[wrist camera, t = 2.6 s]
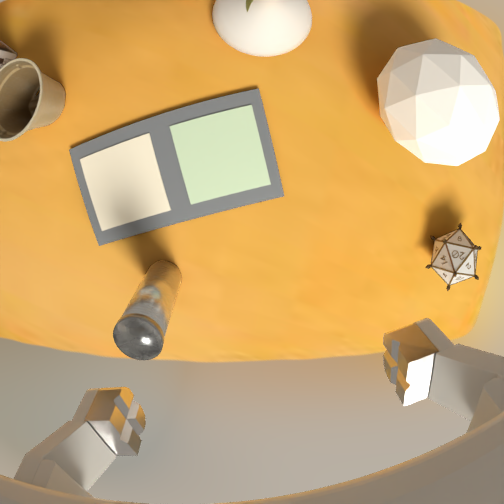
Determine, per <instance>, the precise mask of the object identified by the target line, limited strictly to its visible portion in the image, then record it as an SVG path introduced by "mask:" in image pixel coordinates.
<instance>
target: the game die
mask: <svg viewBox="0 0 504 504" xmlns="http://www.w3.org/2000/svg"><path fill="white" fill-rule="evenodd" d="M458 227H459V229H457V230H455V231H452V232H450V233H448V234H446V235H443V236H441V237H439V238H436V239H435V237H434V236H431V239H432V240H434V247H433V253H432V259H431V265H427V266H426V267H425V268H428V269H429V268H430V267H432V268H433V269H434V270H435V272H436V273H437V274H438V275H439V276H440V277H441V278H442V279H443V280H444V281H445V282H446V283H447V284H448V286H447V288H446V289H447V291H448V290H449V289H450V285H452V284H455V283H458V282H461V281H463V280H466V279H469V278H471V277H475V278H476V279H477V280H479V278H478V276H477V275H475V273H476V263H477V251H478V250H480V249H481V248H482V247H480V246H479V247H478V246H476V245H474V244H473V243H472V241H471V240H470V239H469V238H468V237H467V236H466V234H465V233H464V232H463V231H462V230H461V227H462V225H461V223H460V224H459V226H458Z"/></svg>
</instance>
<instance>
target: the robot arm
mask: <svg viewBox="0 0 504 504" xmlns="http://www.w3.org/2000/svg"><path fill="white" fill-rule="evenodd" d="M383 344H384V346H385V347H386V349H387V350H386V352H385V353H384V355H383V359H384V360H383V361H384V367H385V372H386V374H387V377H388V379H389V381H390V382H391V383H393V384H395V385H396V393H397V395H398V397H399V399H400V400H401V402H402V404H403V406H406V405H408V404H411V403H414V402H416V401H420V400H422V399H424V398H427V397H428V398H429V399H430V400H432V401H434V402H436V403H438V404H440V405H441V406H443V407H445V408H447V409H449V410H451V411H452V412H454V413H456V414H458V415H460V416H462V417H464V418H465V419H467V420H469V421H471V423H470V425H469V428H468V430H467V432H466V434H464V435H462V436H460V437H458V438H456V439H454V440H452V441H450V442H448V443H446V444H444V445H442V446H440V447H438V448H436V449H434V450H431V451H429V452H427V453H425V454H422V455H420V456H418V457H415V458H413V459H410V460H408V461H405V462H403V463H400V464H398V465H395V466H392V467H390V468H387V469H384V470H381V471H378V472H376V473H372V474H369V475H367V476H363V477H360V478H356V479H353V480H350V481H346V482H343V483H339V484H335V485H331V486H327V487H323V488H319V489H315V490H310V491H305V492H300V493H295V494H290V495H284V496H278V497H272V498H265V499H258V500H250V501H241V502H229V503H215V504H504V357H502V356H499V355H495V354H492V353H488V352H485V351H481V350H478V349H474V348H471V347H468V346H464V345H461V344H456V345H454V344H453V343H452V342H451V341H450V340H449V339H448V338H447V337H446V336H445V334H444V333H443V332H442V331H441V330H440V329H439V328H438V327H437V326H436V325H435V324H434V323H433V322H432V321H431V320H430V319H429V318H425V319H423V320H420V321H417V322H415V323H413V324H410V325H408V326H405V327H402V328H399V329H396V330H393V331H390V332H387V333H385V334H384V337H383ZM133 396H134V395H133V393H132V392H131V391H130V389H129V388H127V387H115V388H101V389H100V388H98V389H89V390H87V391H86V393H85V395H84V397H83V399H82V401H81V403H80V405H79V407H78V409H77V411H76V413H75V415H74V417H73V419H72V421H68V422H66V423H65V424H64V425H63V426H62V427H60V428H59V429H58V430H56V431H55V432H54V433H52V434H51V435H50V436H49V437H47V438H46V439H45V440H43V441H42V442H41V443H40V444H38V445H37V446H36V447H34V448H33V449H32V450H31V451H29V452H28V453H27V454H25V456H24V458H23V460H22V463H21V464H20V466H19V469H18V471H17V473H16V475H15V477H14V479H12V478H9V477H6V476H3V475H0V504H147V503H133V502H121V501H113V500H105V499H98V498H94V497H93V496H92V495H90V494H89V493H88V492H87V491H88V489H89V488H90V487H91V486H92V485H93V484H94V483H95V481H96V480H97V479H98V478H99V477H100V476H101V475H102V473H103V472H104V471H105V470H106V469H107V467H108V466H109V465H110V464H111V463H112V462H113V461H114V459H115V458H116V456H134V455H135V456H136V455H138V453H139V448H140V445H141V441H142V440H141V439H140V437H139V435H140V434H141V433H142V432H143V431H144V429H145V425H146V421H145V414H144V411H143V409H142V408H141V406H140V404H138V403H137V402H135V401H133Z"/></svg>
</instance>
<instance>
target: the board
mask: <svg viewBox="0 0 504 504" xmlns="http://www.w3.org/2000/svg"><path fill="white" fill-rule="evenodd" d="M69 151H70V155H71V159H72V162H73V166H74V170H75V173H76V177H77V180H78V184H79V187H80V190H81V194H82V197H83V200H84V203H85V206H86V210H87V213H88V216H89V219H90V222H91V224H92V227H93V230H94V233H95V236H96V239H97V241H98V244H99V246H100V245H104V244H107V243H110V242H113V241H117V240H120V239H124V238H127V237H130V236H134V235H137V234H141V233H144V232H148V231H151V230H155V229H158V228H162V227H165V226H169V225H173V224H176V223H180V222H184V221H187V220H191V219H195V218H199V217H202V216H206V215H210V214H214V213H218V212H222V211H226V210H229V209H233V208H237V207H241V206H245V205H249V204H254V203H258V202H262V201H266V200H270V199H274V198H279V197H283V196H284V193H283V188H282V184H281V179H280V175H279V170H278V166H277V162H276V157H275V153H274V149H273V144H272V140H271V136H270V132H269V128H268V124H267V119H266V115H265V111H264V107H263V103H262V99H261V95H260V92H259V89H254V90H249V91H245V92H240V93H236V94H231V95H227V96H223V97H219V98H215V99H211V100H207V101H204V102H200V103H196V104H193V105H189V106H186V107H182V108H179V109H176V110H173V111H169V112H166V113H163V114H160V115H157V116H154V117H151V118H148V119H145V120H142V121H139V122H136V123H134V124H131V125H128V126H125V127H123V128H120V129H118V130H115V131H112V132H110V133H107V134H105V135H102V136H100V137H97V138H95V139H93V140H90V141H88V142H86V143H83V144H81V145H79V146H76V147H74V148H72V149H70V150H69Z"/></svg>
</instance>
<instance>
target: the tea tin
mask: <svg viewBox="0 0 504 504" xmlns="http://www.w3.org/2000/svg"><path fill="white" fill-rule="evenodd" d="M181 282H182V275H181V272H180V270H179V269H178V267H177V266H176V265H174V264H173V263H171V262H169V261H158V262H155V263H154V264H152V265H151V266H150V268H149V270H148V271H147V273H146V275H145V276H144V278H143V280H142V282H141V283H140V285H139V287H138V288H137V290H136V292H135V294H134V295H133V297H132V299H131V301H130V303H129V304H128V306H127V308H126V310H125V312H124V313H123V315H122V317H121V318H120V319H119V320H118V322H117V324H116V326H115V328H114V331H113V338H114V341H115V343H116V345H117V347H118V348H119V349H120V350H121V351H122V352H123V353H124V354H126V355H127V356H129V357H131V358H134V359H137V360H150V359H153V358H155V357H156V356H158V355H159V353H160V352H161V350H162V347H163V343H164V336H165V333H166V330H167V326H168V323H169V320H170V317H171V313H172V310H173V307H174V304H175V301H176V297H177V294H178V291H179V288H180V285H181Z"/></svg>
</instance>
